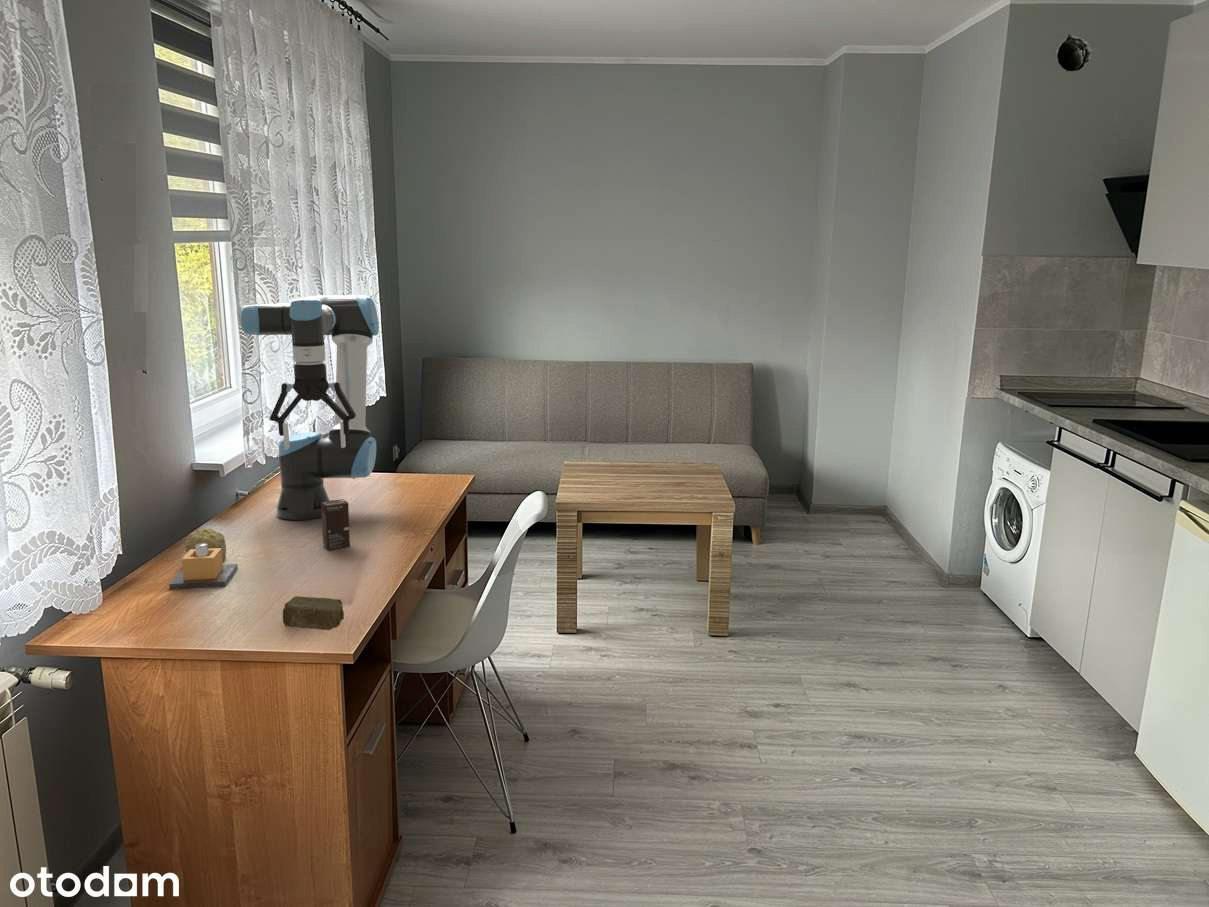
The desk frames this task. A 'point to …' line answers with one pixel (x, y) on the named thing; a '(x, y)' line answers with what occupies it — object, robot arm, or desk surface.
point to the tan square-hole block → (202, 564)
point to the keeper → (199, 583)
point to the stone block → (313, 613)
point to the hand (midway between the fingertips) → (315, 447)
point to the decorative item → (206, 540)
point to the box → (335, 524)
